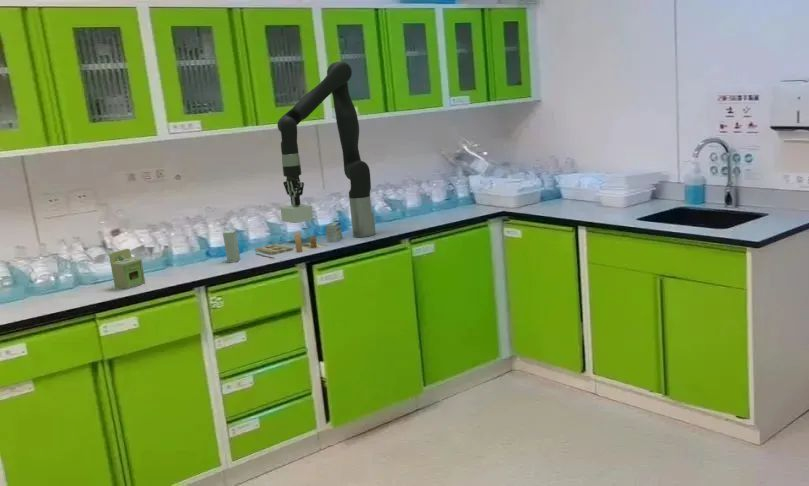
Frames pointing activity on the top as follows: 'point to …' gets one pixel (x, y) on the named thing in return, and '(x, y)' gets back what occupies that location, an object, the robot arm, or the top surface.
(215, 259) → the top surface
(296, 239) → the peg
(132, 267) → the toy sink
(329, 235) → the medicine box
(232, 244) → the skincare box
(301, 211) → the cover
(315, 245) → the board
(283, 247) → the build board
